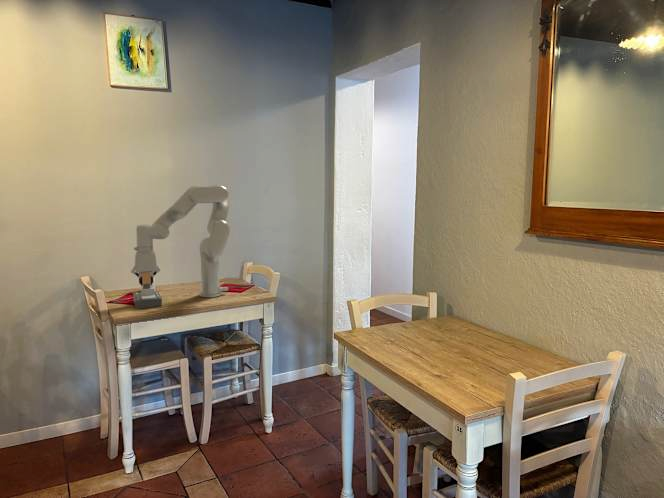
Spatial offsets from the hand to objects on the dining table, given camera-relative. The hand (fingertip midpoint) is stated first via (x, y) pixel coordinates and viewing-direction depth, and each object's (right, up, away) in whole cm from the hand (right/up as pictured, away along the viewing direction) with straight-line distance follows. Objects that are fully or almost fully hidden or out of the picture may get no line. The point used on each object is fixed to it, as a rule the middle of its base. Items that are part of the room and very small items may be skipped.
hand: (146, 284), depth 245 cm
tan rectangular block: (0, -2, 0) cm, 2 cm away
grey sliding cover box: (+1, -10, -1) cm, 10 cm away
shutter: (+4, -6, -7) cm, 10 cm away
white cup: (-9, -6, +25) cm, 27 cm away
